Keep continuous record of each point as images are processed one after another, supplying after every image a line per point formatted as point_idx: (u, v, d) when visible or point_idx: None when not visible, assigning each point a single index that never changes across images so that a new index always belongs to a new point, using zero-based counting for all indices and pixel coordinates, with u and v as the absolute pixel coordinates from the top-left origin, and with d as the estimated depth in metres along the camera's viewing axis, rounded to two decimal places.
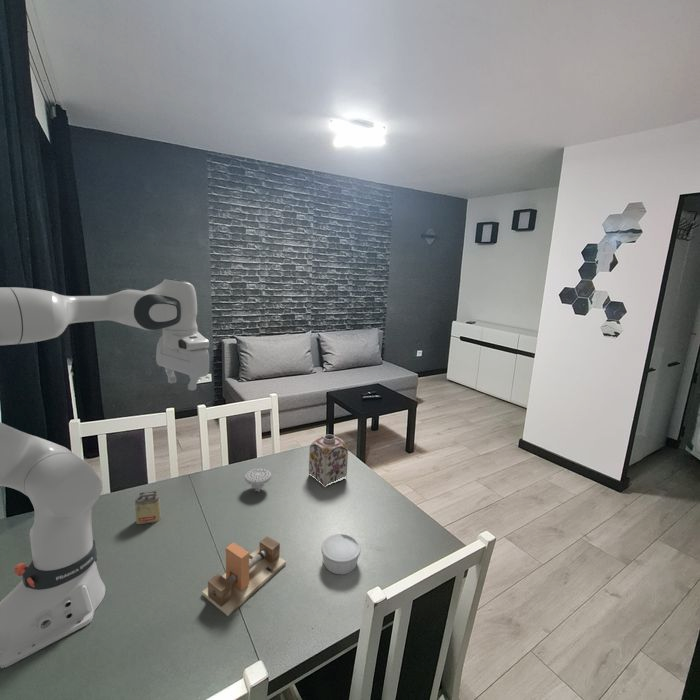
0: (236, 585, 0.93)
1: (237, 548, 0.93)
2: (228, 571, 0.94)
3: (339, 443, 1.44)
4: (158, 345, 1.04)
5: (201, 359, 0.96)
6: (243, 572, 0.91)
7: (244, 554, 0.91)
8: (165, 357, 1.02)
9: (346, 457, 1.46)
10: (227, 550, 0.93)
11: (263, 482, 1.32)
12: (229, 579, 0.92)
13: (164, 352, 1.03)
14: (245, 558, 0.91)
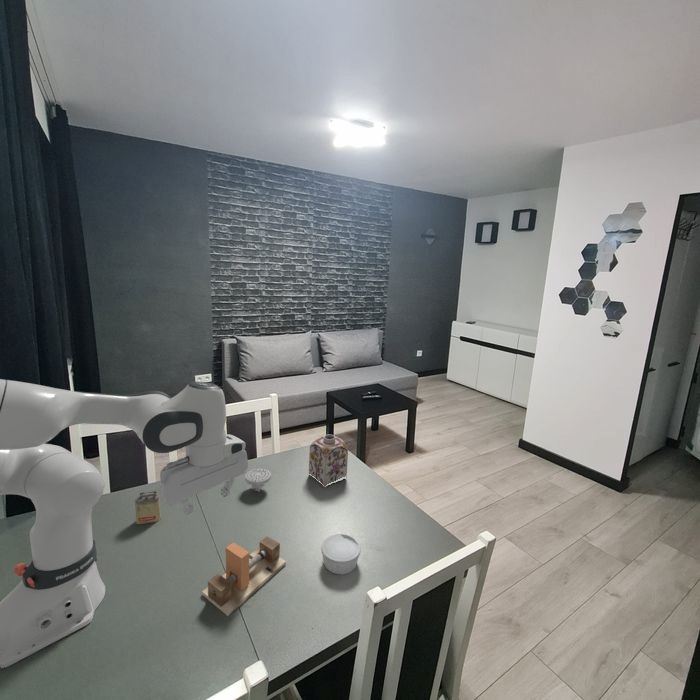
0: (236, 585, 0.93)
1: (237, 548, 0.93)
2: (228, 571, 0.94)
3: (339, 443, 1.44)
4: (175, 478, 0.77)
5: None
6: (243, 572, 0.91)
7: (244, 554, 0.91)
8: (191, 484, 0.80)
9: (346, 457, 1.46)
10: (227, 550, 0.93)
11: (263, 482, 1.32)
12: (229, 579, 0.92)
13: (185, 480, 0.79)
14: (245, 558, 0.91)
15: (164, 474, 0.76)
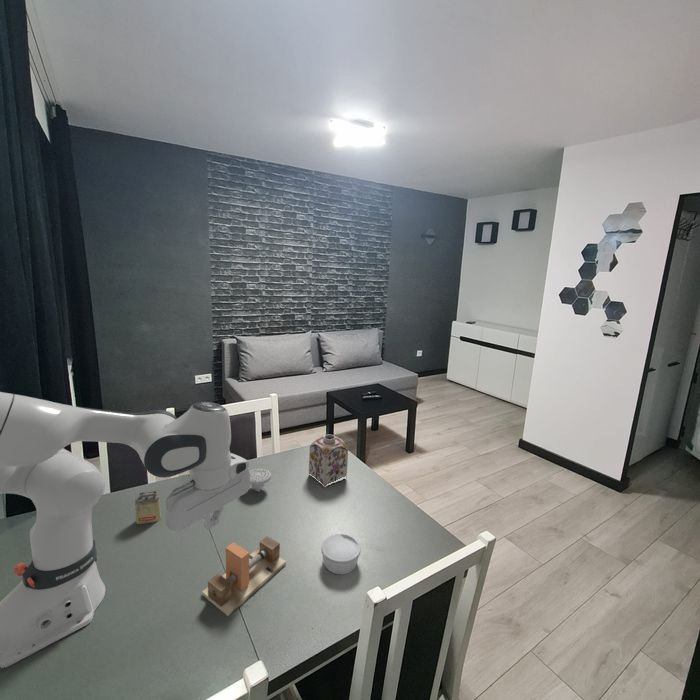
0: (236, 585, 0.93)
1: (237, 548, 0.93)
2: (228, 571, 0.94)
3: (339, 443, 1.44)
4: (182, 504, 0.74)
5: None
6: (243, 572, 0.91)
7: (244, 554, 0.91)
8: (197, 508, 0.78)
9: (346, 457, 1.46)
10: (227, 550, 0.93)
11: (263, 482, 1.32)
12: (229, 579, 0.92)
13: (192, 505, 0.77)
14: (245, 558, 0.91)
15: (170, 501, 0.74)
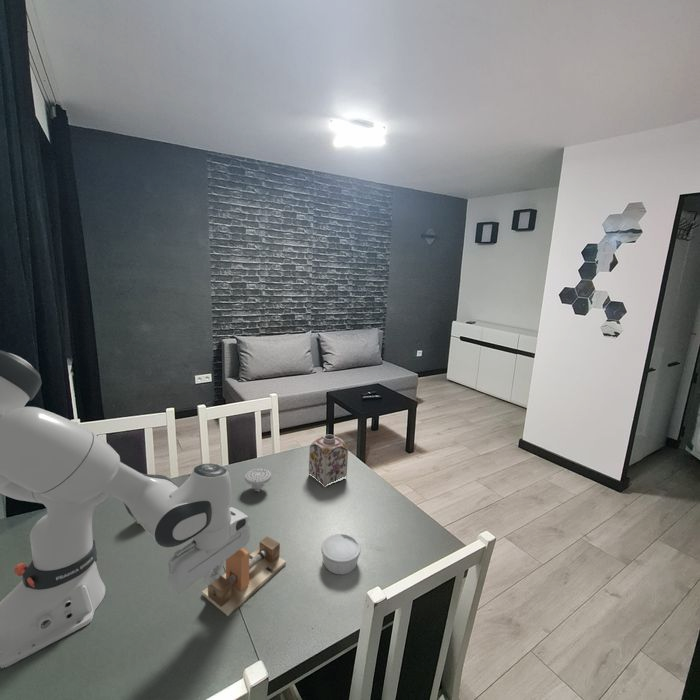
0: (236, 585, 0.93)
1: None
2: (228, 571, 0.94)
3: (339, 443, 1.44)
4: (183, 566, 0.77)
5: None
6: (243, 572, 0.91)
7: (244, 554, 0.91)
8: (198, 568, 0.81)
9: (346, 457, 1.46)
10: None
11: (263, 482, 1.32)
12: (229, 579, 0.92)
13: (193, 566, 0.80)
14: (245, 558, 0.91)
15: (173, 564, 0.76)
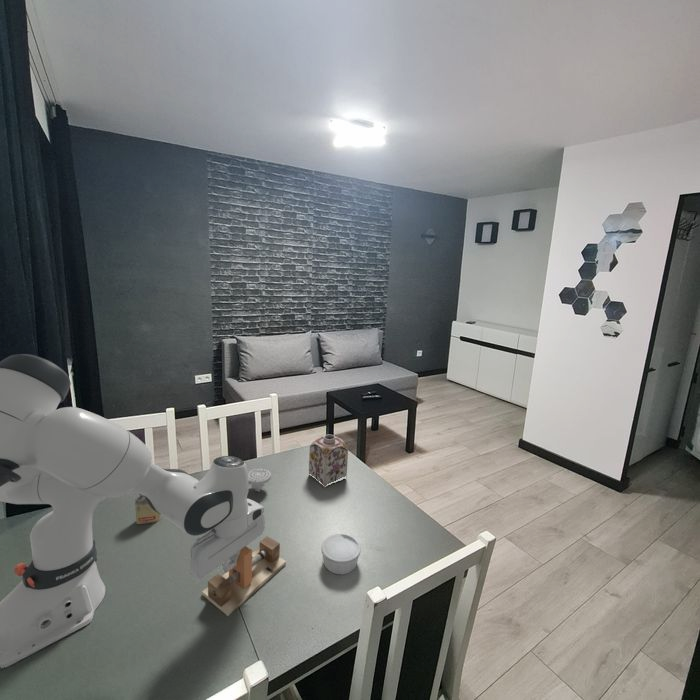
0: (239, 583, 0.94)
1: None
2: (231, 569, 0.95)
3: (339, 443, 1.44)
4: (204, 553, 0.81)
5: None
6: (246, 570, 0.92)
7: (247, 552, 0.92)
8: (218, 555, 0.85)
9: (346, 457, 1.46)
10: None
11: (263, 482, 1.32)
12: (229, 579, 0.92)
13: (213, 552, 0.84)
14: (248, 556, 0.92)
15: (194, 550, 0.80)
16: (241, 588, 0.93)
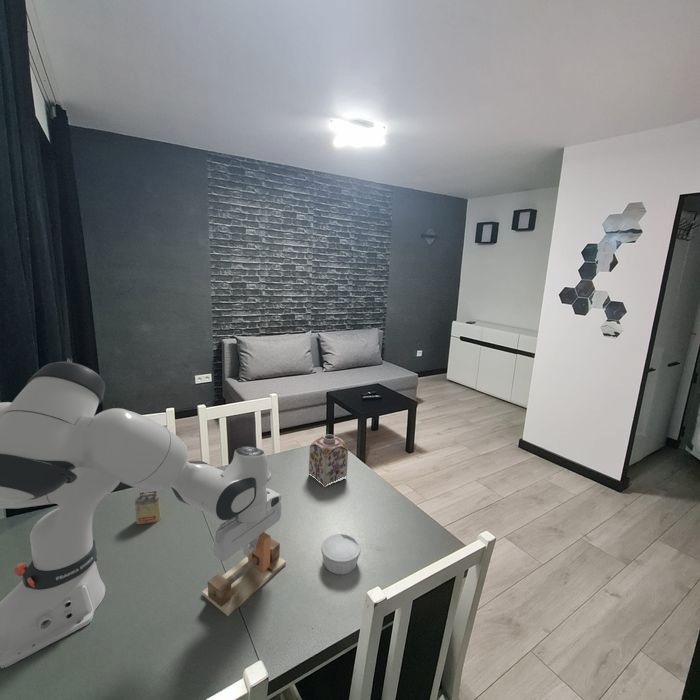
0: (258, 567, 0.99)
1: None
2: (250, 554, 1.00)
3: (339, 443, 1.44)
4: (228, 536, 0.87)
5: None
6: (265, 554, 0.98)
7: (266, 537, 0.98)
8: (240, 539, 0.90)
9: (346, 457, 1.46)
10: None
11: None
12: (229, 579, 0.92)
13: (235, 536, 0.89)
14: (267, 541, 0.97)
15: (219, 534, 0.86)
16: (241, 588, 0.93)
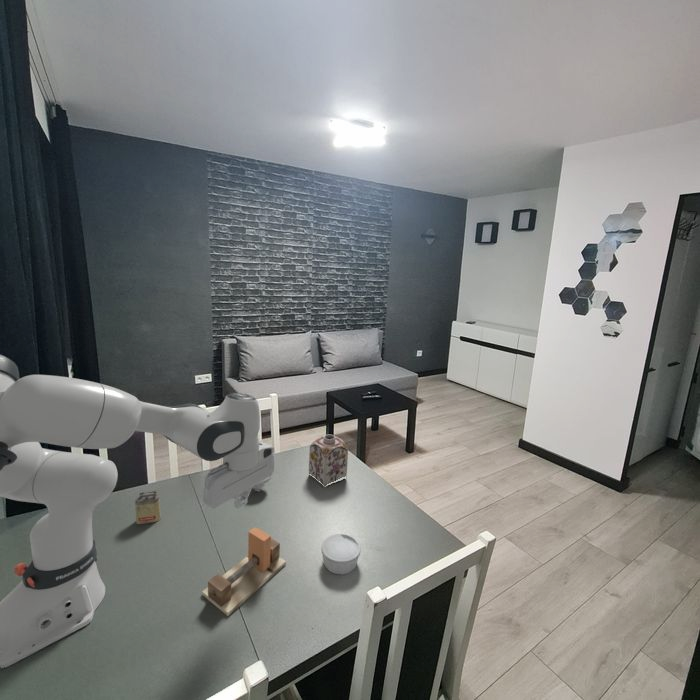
0: (258, 566, 0.99)
1: (259, 532, 0.99)
2: (250, 554, 1.00)
3: (339, 443, 1.44)
4: (218, 483, 0.84)
5: None
6: (265, 554, 0.98)
7: (266, 537, 0.98)
8: (230, 487, 0.87)
9: (346, 457, 1.46)
10: (250, 534, 0.99)
11: (263, 482, 1.32)
12: (229, 579, 0.92)
13: (226, 484, 0.86)
14: (267, 541, 0.97)
15: (208, 480, 0.83)
16: (241, 588, 0.93)
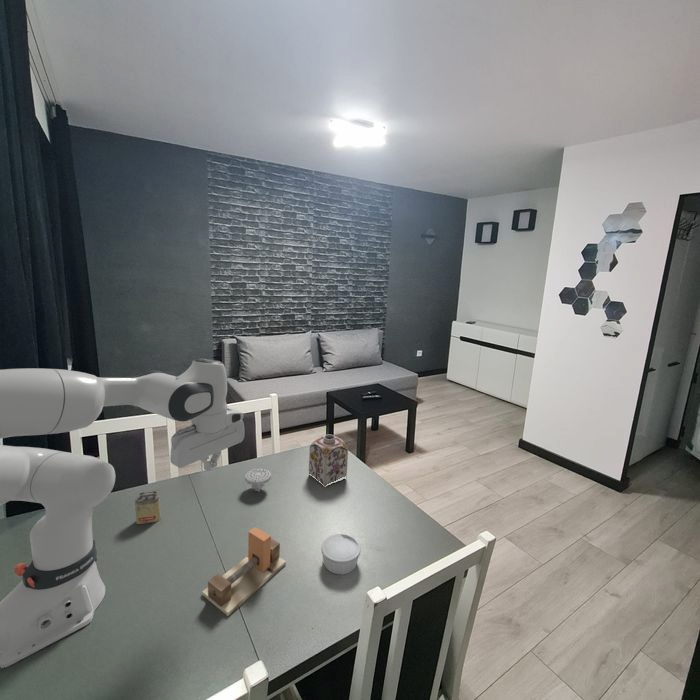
0: (258, 566, 0.99)
1: (259, 532, 0.99)
2: (250, 554, 1.00)
3: (339, 443, 1.44)
4: (185, 443, 0.86)
5: None
6: (265, 554, 0.98)
7: (266, 537, 0.98)
8: (198, 449, 0.90)
9: (346, 457, 1.46)
10: (250, 534, 0.99)
11: (263, 482, 1.32)
12: (229, 579, 0.92)
13: (193, 445, 0.89)
14: (267, 541, 0.97)
15: (175, 439, 0.86)
16: (241, 588, 0.93)
